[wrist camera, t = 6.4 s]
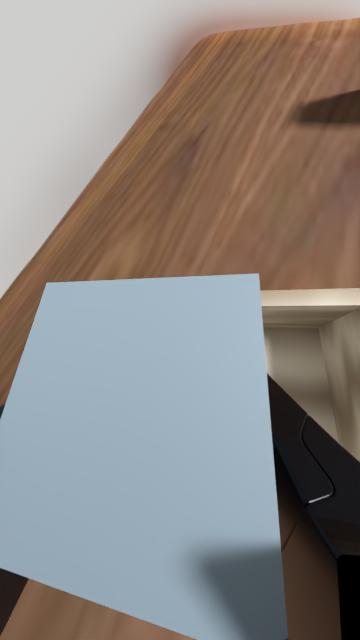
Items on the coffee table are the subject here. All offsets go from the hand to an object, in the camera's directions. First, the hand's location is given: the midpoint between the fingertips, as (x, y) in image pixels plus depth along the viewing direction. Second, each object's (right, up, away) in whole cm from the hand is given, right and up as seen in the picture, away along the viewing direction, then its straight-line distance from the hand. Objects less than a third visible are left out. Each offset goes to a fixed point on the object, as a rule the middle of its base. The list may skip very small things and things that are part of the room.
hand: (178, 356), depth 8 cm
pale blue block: (+1, -3, +5) cm, 6 cm away
